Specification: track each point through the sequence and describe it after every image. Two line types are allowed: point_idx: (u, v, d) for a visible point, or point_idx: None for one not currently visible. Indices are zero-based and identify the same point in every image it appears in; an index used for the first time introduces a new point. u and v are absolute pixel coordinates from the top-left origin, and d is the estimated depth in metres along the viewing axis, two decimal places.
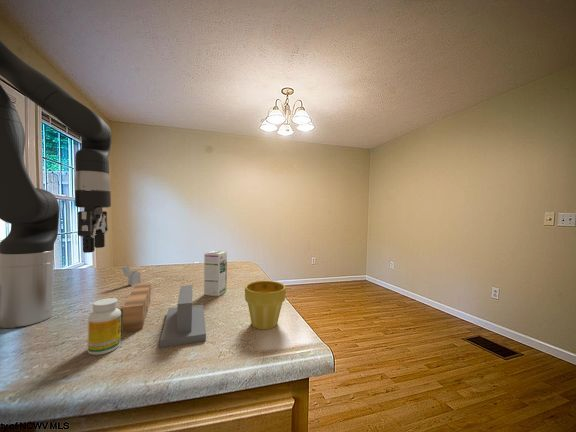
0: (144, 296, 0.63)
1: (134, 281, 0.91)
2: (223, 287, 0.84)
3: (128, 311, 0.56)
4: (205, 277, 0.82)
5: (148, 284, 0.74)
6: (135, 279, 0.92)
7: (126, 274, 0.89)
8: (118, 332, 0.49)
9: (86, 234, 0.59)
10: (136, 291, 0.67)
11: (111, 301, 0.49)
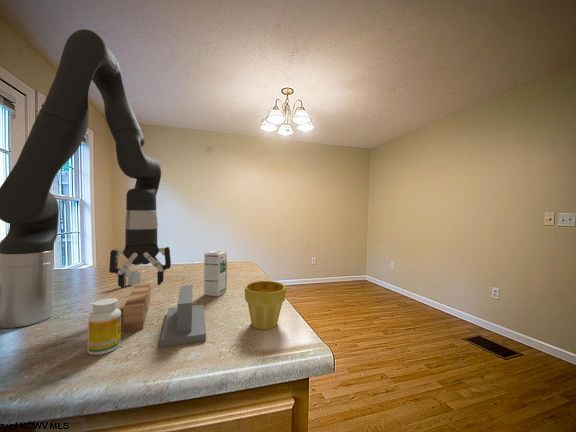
0: (144, 296, 0.63)
1: (134, 281, 0.91)
2: (223, 287, 0.84)
3: (129, 311, 0.56)
4: (205, 277, 0.82)
5: (148, 284, 0.74)
6: (135, 279, 0.92)
7: None
8: (118, 332, 0.49)
9: None
10: (136, 291, 0.67)
11: (111, 301, 0.49)
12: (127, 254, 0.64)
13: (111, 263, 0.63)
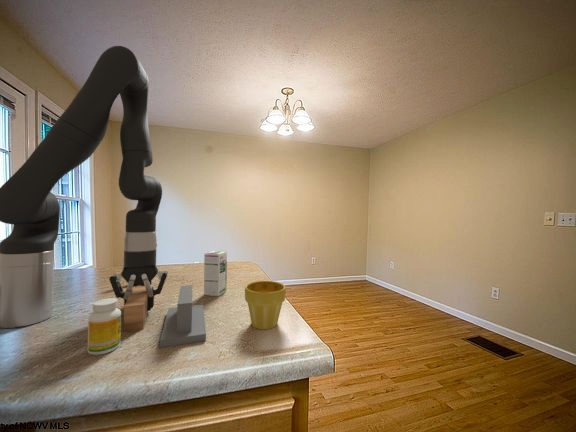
0: (145, 295, 0.63)
1: None
2: (223, 287, 0.84)
3: (129, 310, 0.56)
4: (205, 277, 0.82)
5: None
6: None
7: None
8: (118, 332, 0.49)
9: None
10: (137, 291, 0.67)
11: (111, 301, 0.49)
12: (126, 276, 0.64)
13: (114, 289, 0.63)
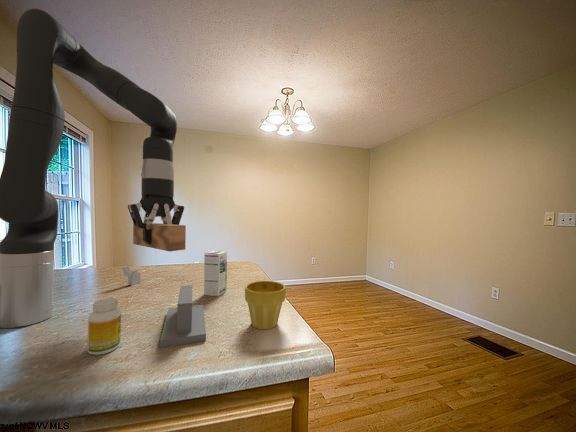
0: (170, 224, 0.63)
1: (134, 281, 0.91)
2: (223, 287, 0.84)
3: (174, 230, 0.57)
4: (205, 277, 0.82)
5: None
6: (135, 279, 0.92)
7: (126, 274, 0.89)
8: (118, 332, 0.49)
9: None
10: None
11: (111, 301, 0.49)
12: (147, 205, 0.61)
13: (137, 218, 0.59)
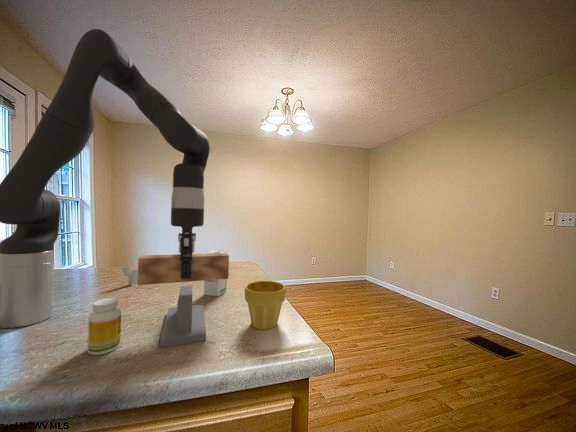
0: None
1: (134, 281, 0.91)
2: (223, 287, 0.84)
3: None
4: None
5: (150, 255, 0.58)
6: (135, 279, 0.92)
7: (125, 274, 0.89)
8: (118, 332, 0.49)
9: None
10: None
11: (111, 301, 0.49)
12: (191, 236, 0.57)
13: (192, 252, 0.55)
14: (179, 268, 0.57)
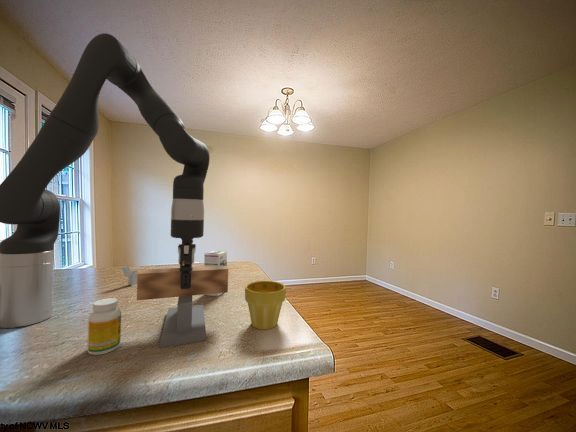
0: (200, 267, 0.62)
1: (134, 281, 0.91)
2: None
3: None
4: None
5: (150, 269, 0.58)
6: (135, 279, 0.92)
7: (126, 274, 0.89)
8: (118, 332, 0.49)
9: None
10: (179, 270, 0.59)
11: (111, 301, 0.49)
12: (191, 248, 0.57)
13: (191, 260, 0.54)
14: (179, 283, 0.57)
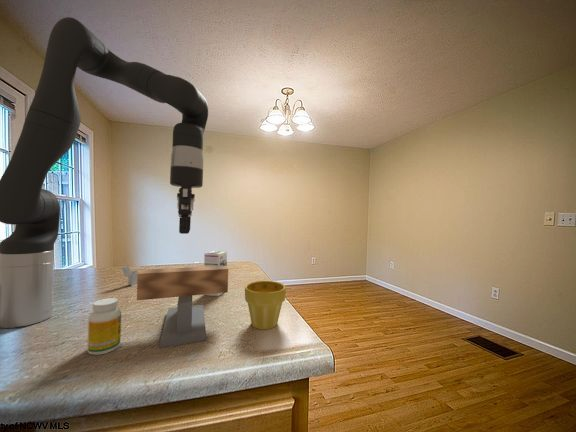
0: (200, 267, 0.62)
1: (134, 281, 0.91)
2: None
3: None
4: None
5: (150, 269, 0.58)
6: (135, 279, 0.92)
7: (125, 274, 0.89)
8: (118, 332, 0.49)
9: None
10: (179, 270, 0.59)
11: (111, 301, 0.49)
12: None
13: (190, 203, 0.55)
14: (179, 283, 0.57)
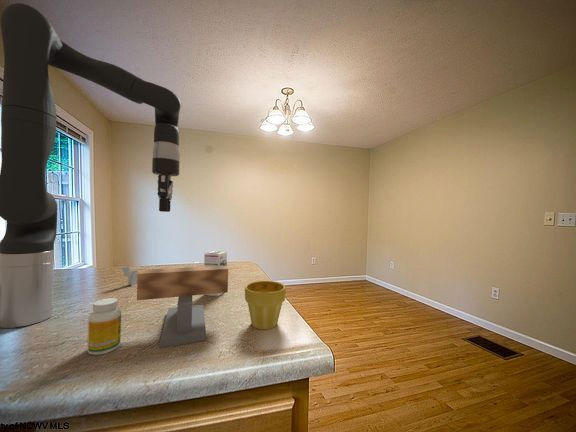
0: (200, 267, 0.62)
1: (134, 281, 0.91)
2: None
3: None
4: None
5: (150, 269, 0.58)
6: (135, 279, 0.92)
7: (126, 274, 0.89)
8: (118, 332, 0.49)
9: None
10: (179, 270, 0.59)
11: (111, 301, 0.49)
12: (168, 181, 0.72)
13: (167, 187, 0.69)
14: (179, 283, 0.57)
